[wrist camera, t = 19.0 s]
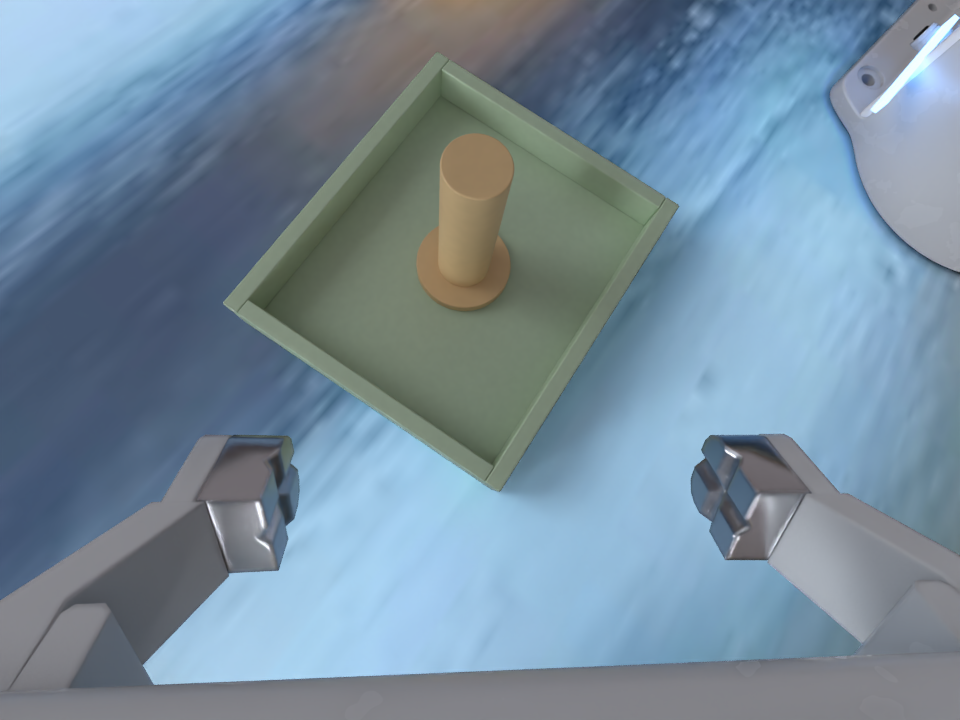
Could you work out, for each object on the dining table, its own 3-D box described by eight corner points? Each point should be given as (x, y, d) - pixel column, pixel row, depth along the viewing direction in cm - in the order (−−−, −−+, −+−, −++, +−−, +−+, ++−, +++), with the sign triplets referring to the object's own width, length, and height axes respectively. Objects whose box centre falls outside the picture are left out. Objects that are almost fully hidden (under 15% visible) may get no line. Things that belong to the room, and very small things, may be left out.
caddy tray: (436, 92, 30) (437, -94, 20) (655, 232, 29) (767, 110, 19) (245, 322, 26) (131, 231, 16) (492, 490, 25) (529, 501, 15)
